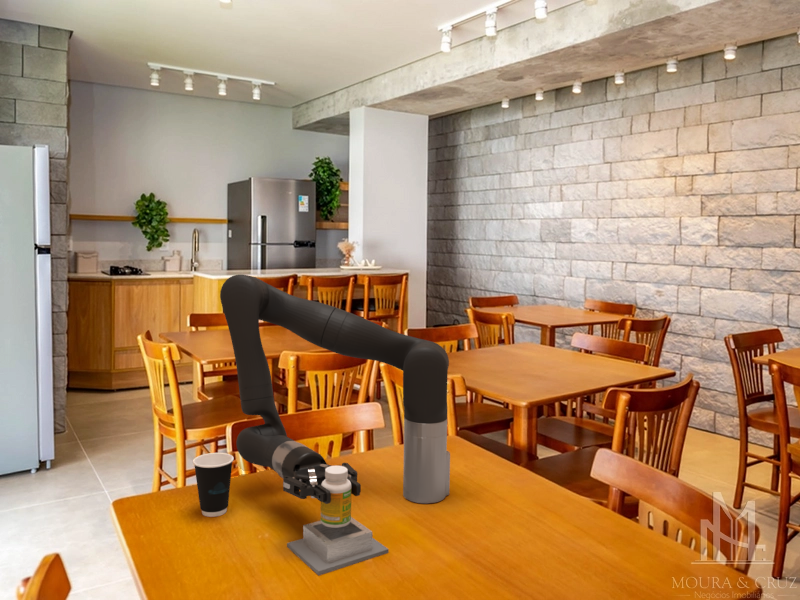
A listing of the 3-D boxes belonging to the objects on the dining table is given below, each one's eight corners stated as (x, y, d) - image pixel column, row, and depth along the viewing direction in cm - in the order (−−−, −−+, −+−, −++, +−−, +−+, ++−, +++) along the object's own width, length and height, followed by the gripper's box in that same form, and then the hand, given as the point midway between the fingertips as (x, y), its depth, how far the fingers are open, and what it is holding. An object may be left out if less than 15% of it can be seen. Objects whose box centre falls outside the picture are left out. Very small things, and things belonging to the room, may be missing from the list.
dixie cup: (218, 523, 128) (217, 468, 127) (185, 516, 131) (184, 462, 130) (242, 507, 136) (241, 455, 135) (210, 501, 138) (209, 450, 137)
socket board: (353, 530, 127) (353, 507, 127) (388, 555, 117) (388, 531, 117) (287, 549, 119) (286, 525, 119) (318, 578, 109) (318, 552, 109)
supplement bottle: (346, 530, 115) (346, 476, 113) (316, 526, 116) (317, 473, 115) (354, 516, 120) (355, 465, 119) (326, 513, 121) (326, 462, 120)
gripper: (264, 453, 124) (307, 482, 110) (330, 439, 132) (378, 465, 119) (264, 491, 125) (307, 525, 111) (330, 475, 133) (377, 505, 120)
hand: (343, 494), depth 115 cm, fingers closed on supplement bottle, 5 cm apart
